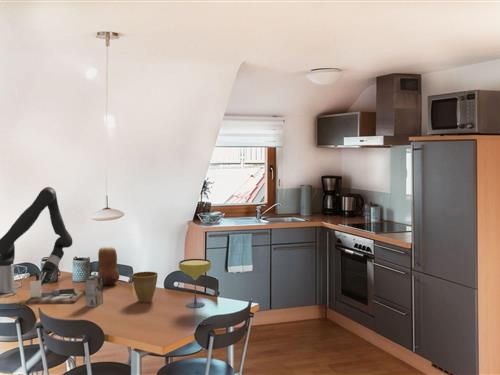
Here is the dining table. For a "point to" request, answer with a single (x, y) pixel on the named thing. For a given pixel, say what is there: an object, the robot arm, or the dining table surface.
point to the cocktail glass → (195, 274)
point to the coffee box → (94, 290)
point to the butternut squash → (108, 265)
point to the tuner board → (56, 298)
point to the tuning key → (37, 292)
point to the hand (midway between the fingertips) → (37, 288)
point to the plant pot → (145, 285)
